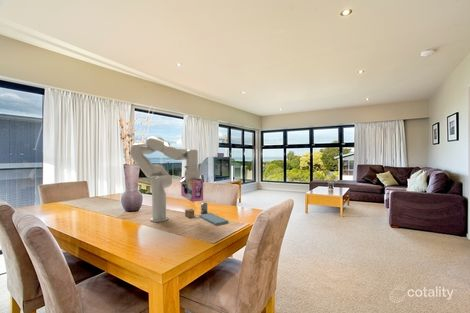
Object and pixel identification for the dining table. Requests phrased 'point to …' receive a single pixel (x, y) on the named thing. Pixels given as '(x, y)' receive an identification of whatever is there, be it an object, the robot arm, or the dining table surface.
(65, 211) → the dining table surface
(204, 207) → the metal canister
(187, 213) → the walnut block
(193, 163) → the robot arm
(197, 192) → the gum box
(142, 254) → the dining table surface
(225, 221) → the board
